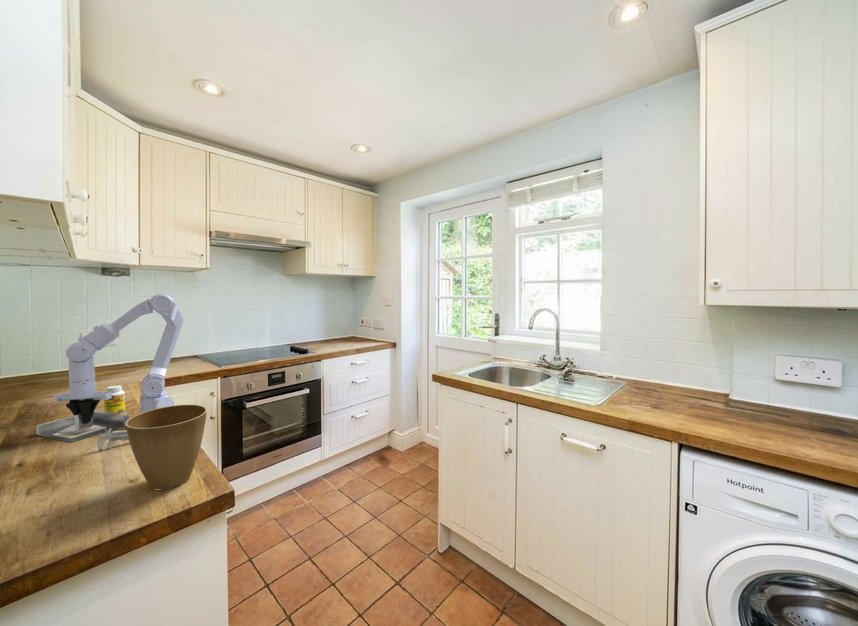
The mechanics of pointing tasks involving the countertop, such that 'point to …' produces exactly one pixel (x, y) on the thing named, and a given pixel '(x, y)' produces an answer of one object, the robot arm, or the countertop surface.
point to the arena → (99, 424)
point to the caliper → (111, 438)
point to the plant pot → (167, 443)
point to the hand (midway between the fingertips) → (84, 422)
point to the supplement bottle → (115, 400)
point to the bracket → (77, 425)
